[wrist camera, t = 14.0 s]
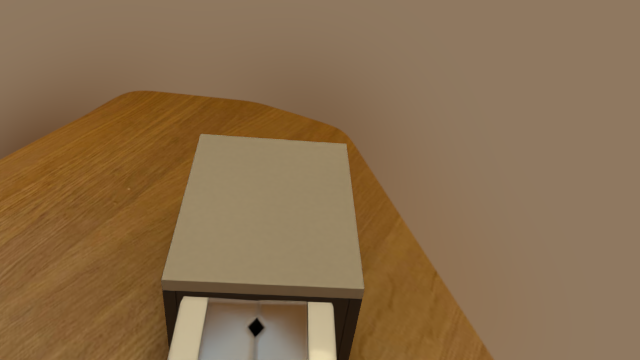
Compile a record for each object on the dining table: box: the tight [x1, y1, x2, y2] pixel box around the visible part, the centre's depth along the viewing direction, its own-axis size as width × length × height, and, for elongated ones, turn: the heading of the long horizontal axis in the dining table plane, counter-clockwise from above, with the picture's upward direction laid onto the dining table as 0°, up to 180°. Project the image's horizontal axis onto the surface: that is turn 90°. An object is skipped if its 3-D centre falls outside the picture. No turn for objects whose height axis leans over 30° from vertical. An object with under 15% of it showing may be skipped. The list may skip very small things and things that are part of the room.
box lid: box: [161, 134, 364, 299], centre depth 40 cm, size 17×13×1 cm
